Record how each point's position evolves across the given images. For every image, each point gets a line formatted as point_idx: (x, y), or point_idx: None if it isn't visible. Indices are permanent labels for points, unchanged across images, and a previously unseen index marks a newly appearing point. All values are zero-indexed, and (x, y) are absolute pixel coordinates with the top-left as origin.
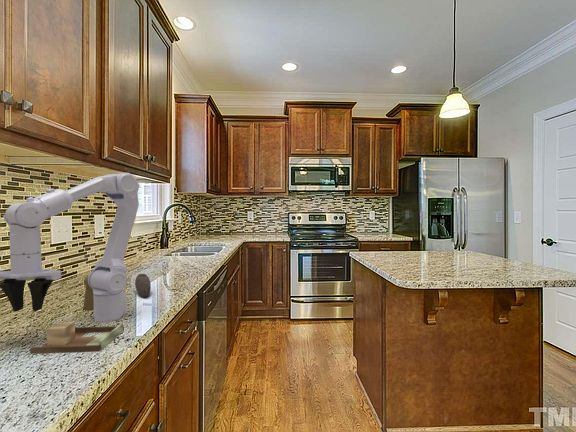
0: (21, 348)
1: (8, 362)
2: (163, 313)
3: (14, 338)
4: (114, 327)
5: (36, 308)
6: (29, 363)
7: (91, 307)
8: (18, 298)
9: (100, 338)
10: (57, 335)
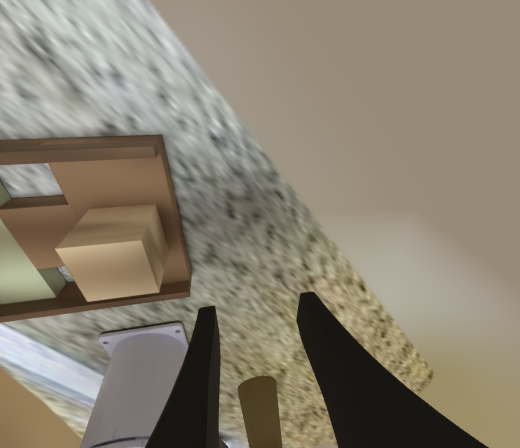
0: (264, 214)
1: (227, 121)
2: (46, 398)
3: (324, 262)
4: (3, 315)
5: (197, 321)
6: (141, 108)
7: (253, 385)
8: (326, 369)
9: (3, 259)
10: (104, 227)
